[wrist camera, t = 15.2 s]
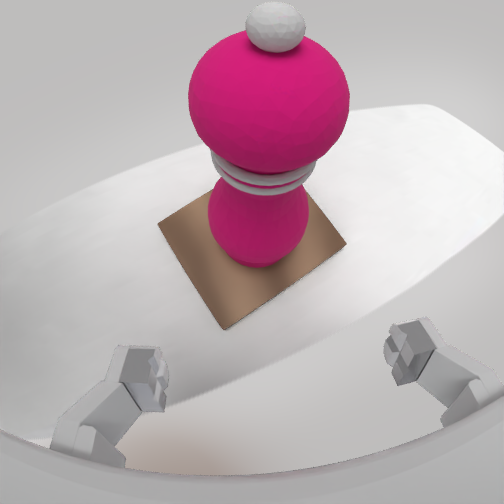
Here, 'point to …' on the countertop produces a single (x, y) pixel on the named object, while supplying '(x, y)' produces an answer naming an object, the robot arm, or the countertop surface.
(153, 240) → the countertop surface
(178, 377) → the countertop surface
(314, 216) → the walnut board
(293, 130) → the pepper mill
